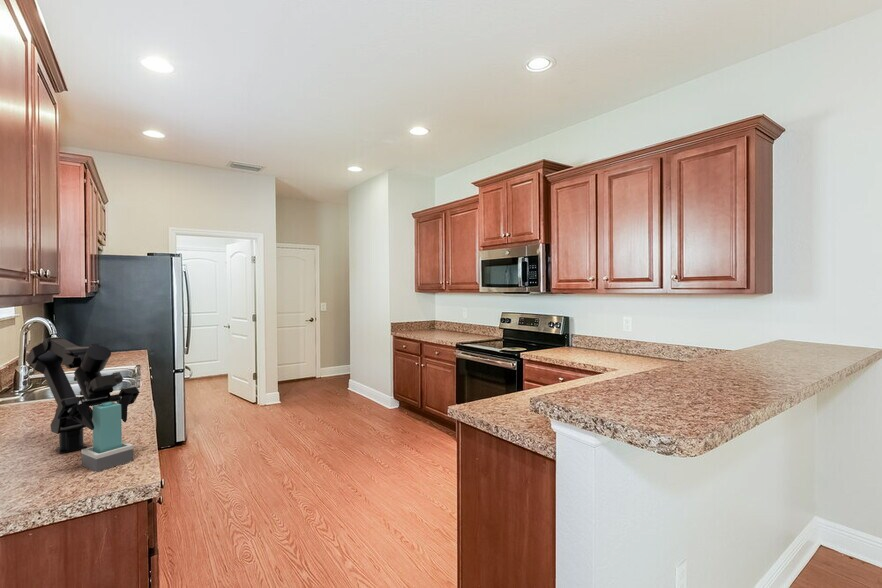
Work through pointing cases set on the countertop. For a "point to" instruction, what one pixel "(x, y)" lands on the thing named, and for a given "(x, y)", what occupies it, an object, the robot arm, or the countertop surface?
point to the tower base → (107, 457)
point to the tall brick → (107, 427)
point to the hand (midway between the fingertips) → (109, 425)
